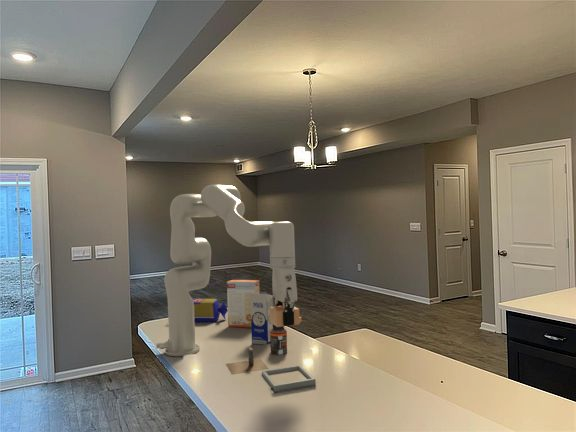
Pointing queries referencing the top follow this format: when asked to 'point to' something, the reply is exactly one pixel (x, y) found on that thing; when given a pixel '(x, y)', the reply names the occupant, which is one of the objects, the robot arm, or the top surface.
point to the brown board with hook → (247, 364)
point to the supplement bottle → (278, 340)
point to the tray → (291, 385)
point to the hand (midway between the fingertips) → (284, 321)
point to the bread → (208, 310)
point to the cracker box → (240, 301)
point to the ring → (277, 316)
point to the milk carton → (261, 318)
